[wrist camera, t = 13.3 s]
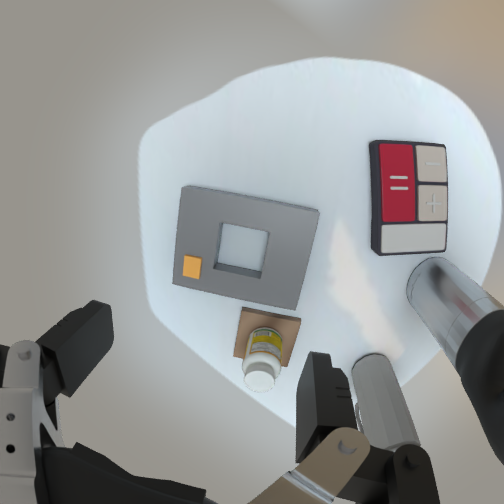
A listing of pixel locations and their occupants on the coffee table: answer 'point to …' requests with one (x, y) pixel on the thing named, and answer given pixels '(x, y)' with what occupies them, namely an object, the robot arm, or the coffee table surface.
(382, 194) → the calculator
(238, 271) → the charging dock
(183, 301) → the coffee table surface
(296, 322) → the coaster pad
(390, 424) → the water bottle
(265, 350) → the supplement bottle
